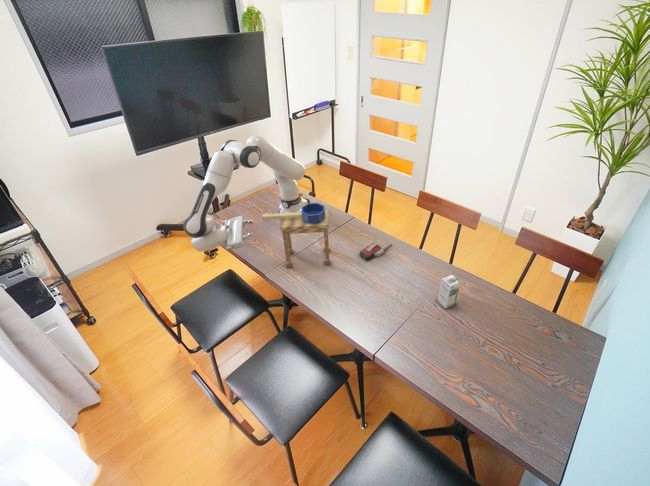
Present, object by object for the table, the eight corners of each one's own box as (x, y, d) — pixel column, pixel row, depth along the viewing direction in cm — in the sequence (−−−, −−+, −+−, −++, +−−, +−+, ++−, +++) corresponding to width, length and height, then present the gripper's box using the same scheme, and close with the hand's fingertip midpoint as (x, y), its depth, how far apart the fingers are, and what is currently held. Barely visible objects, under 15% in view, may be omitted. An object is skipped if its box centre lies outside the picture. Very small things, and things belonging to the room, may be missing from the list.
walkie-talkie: (369, 263, 173) (393, 247, 184) (369, 257, 171) (393, 241, 182) (357, 256, 178) (381, 240, 190) (357, 249, 176) (382, 234, 187)
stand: (286, 268, 171) (279, 227, 155) (288, 251, 182) (282, 211, 166) (330, 265, 172) (328, 224, 157) (329, 248, 184) (327, 209, 168)
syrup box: (445, 309, 149) (451, 286, 140) (436, 300, 153) (441, 277, 144) (454, 304, 151) (461, 282, 142) (446, 296, 155) (451, 273, 146)
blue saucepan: (324, 210, 167) (324, 202, 164) (325, 223, 158) (325, 214, 155) (264, 214, 165) (263, 205, 162) (262, 226, 156) (260, 218, 153)
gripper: (221, 246, 153) (249, 237, 153) (224, 218, 167) (249, 210, 167) (227, 254, 157) (254, 246, 157) (230, 227, 172) (255, 219, 172)
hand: (252, 227), depth 162 cm, fingers open, 8 cm apart
